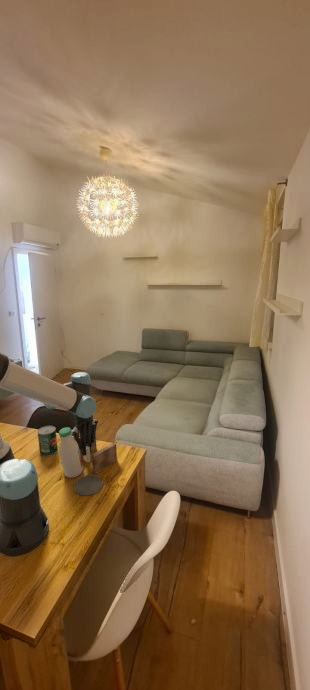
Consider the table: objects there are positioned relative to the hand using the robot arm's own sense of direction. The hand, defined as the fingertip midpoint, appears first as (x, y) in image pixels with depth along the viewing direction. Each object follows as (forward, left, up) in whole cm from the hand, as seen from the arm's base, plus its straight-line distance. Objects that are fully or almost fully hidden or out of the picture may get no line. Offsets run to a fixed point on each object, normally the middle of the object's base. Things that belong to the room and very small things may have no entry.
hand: (87, 460), depth 127 cm
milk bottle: (-7, 0, -2) cm, 7 cm away
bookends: (+4, 0, -2) cm, 4 cm away
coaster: (-8, -11, -2) cm, 14 cm away
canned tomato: (-5, +22, -2) cm, 23 cm away
